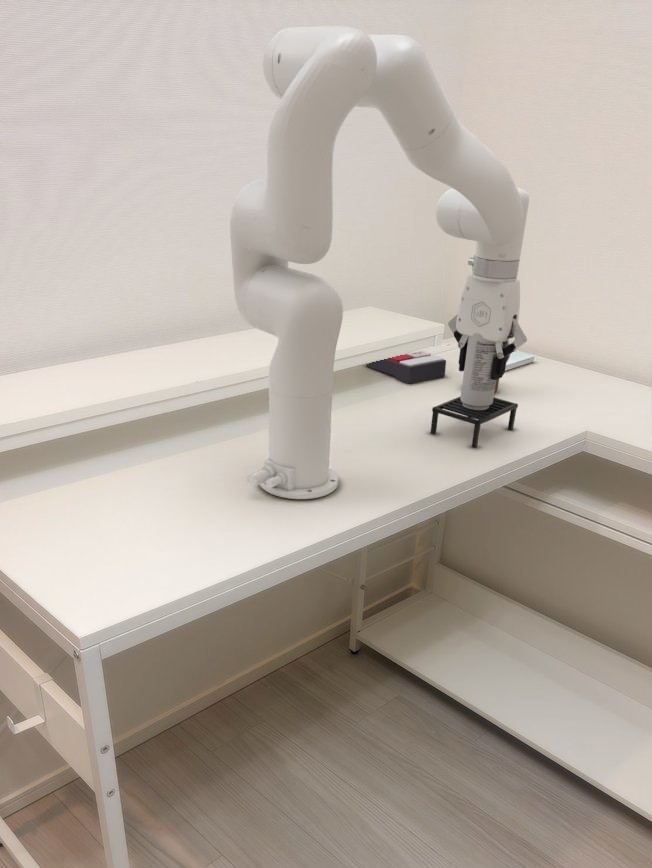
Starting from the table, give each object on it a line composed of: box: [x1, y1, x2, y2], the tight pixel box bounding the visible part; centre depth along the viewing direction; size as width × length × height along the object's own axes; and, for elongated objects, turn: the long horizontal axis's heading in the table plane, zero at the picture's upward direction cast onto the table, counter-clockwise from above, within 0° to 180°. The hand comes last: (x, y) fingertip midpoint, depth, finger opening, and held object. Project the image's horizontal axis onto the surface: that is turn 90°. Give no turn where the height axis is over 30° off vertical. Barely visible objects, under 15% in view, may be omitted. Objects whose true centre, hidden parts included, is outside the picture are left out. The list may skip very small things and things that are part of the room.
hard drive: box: [505, 350, 535, 372], centre depth 191 cm, size 2×8×12 cm
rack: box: [430, 395, 519, 449], centre depth 150 cm, size 14×10×5 cm
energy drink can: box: [459, 333, 497, 410], centre depth 145 cm, size 6×6×15 cm
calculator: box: [366, 350, 447, 384], centre depth 181 cm, size 11×4×15 cm
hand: (480, 373), depth 146 cm, fingers closed on energy drink can, 6 cm apart
